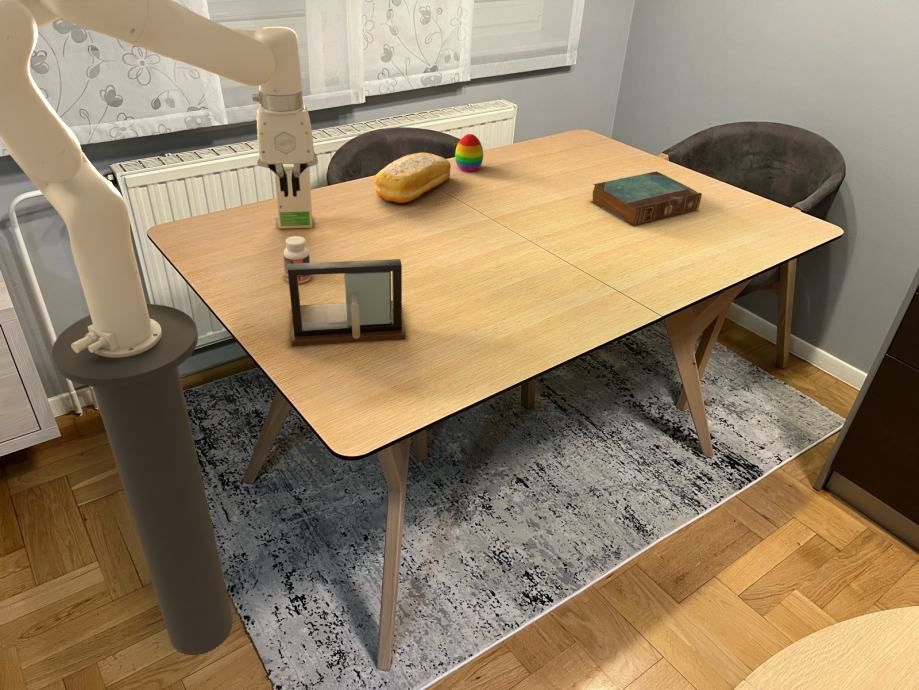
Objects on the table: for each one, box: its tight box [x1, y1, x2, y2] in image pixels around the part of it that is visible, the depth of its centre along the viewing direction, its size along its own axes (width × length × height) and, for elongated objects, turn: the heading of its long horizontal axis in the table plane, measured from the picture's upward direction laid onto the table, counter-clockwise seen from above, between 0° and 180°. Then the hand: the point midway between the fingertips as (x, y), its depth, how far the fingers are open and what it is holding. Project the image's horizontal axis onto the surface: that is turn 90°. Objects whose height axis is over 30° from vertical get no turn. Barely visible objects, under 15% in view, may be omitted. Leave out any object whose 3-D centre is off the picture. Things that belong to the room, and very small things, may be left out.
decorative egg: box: [454, 133, 484, 172], centre depth 210 cm, size 8×8×10 cm
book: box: [590, 171, 703, 227], centre depth 194 cm, size 23×18×5 cm
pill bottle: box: [283, 235, 312, 284], centre depth 153 cm, size 5×5×9 cm
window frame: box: [288, 258, 406, 347], centre depth 137 cm, size 12×21×15 cm, turn 100°
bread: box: [374, 152, 452, 204], centre depth 196 cm, size 13×26×8 cm, turn 154°
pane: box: [344, 271, 390, 339], centre depth 131 cm, size 7×8×11 cm
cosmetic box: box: [273, 164, 313, 229], centre depth 173 cm, size 8×7×16 cm
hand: (290, 193), depth 144 cm, fingers closed
